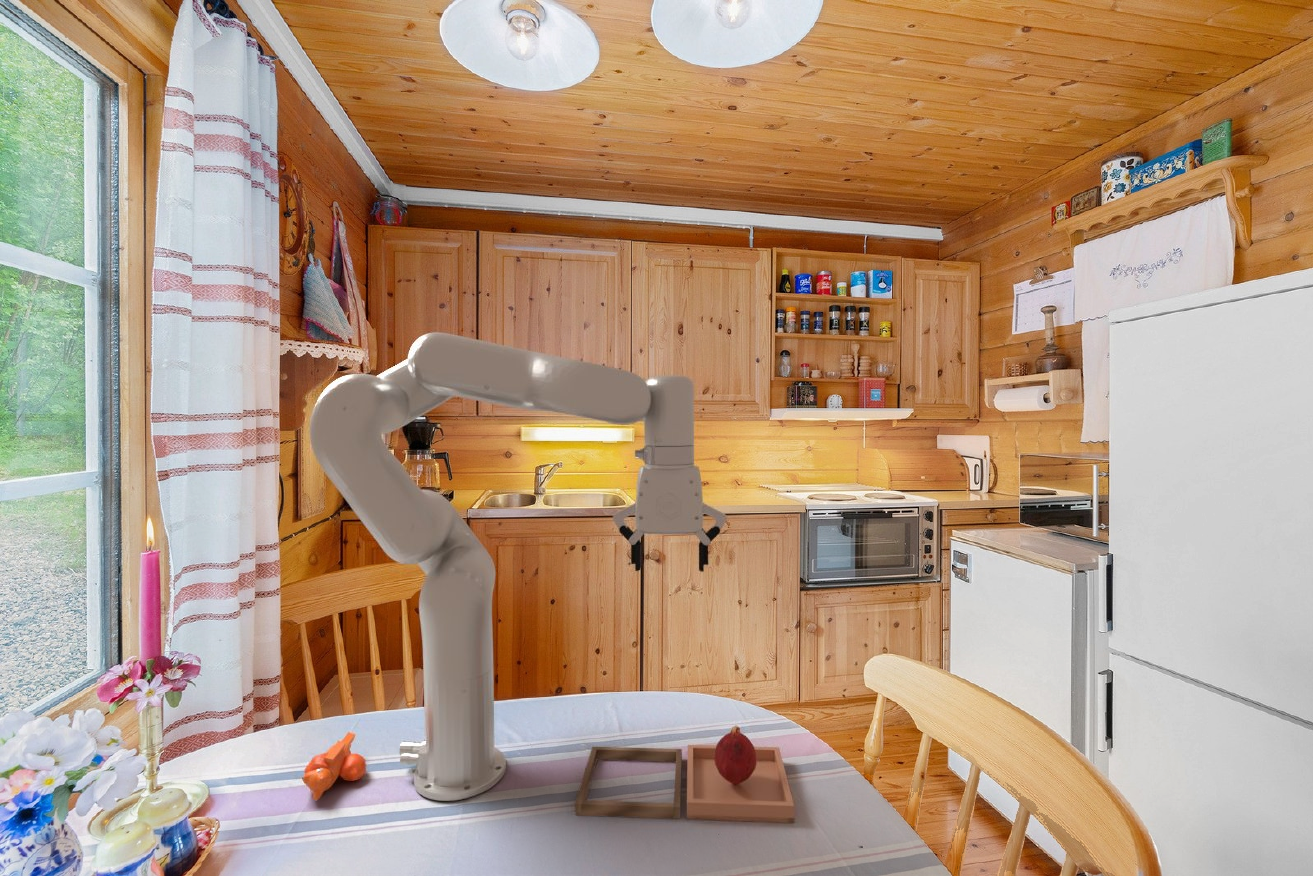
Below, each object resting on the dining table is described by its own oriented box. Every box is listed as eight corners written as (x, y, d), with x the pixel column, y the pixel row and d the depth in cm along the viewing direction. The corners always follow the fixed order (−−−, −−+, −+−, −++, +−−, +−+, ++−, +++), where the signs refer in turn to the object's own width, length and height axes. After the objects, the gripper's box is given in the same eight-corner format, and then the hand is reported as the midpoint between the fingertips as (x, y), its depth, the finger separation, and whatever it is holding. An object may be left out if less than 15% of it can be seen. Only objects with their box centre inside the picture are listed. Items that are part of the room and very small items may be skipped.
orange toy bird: (336, 721, 92) (298, 766, 80) (385, 733, 93) (354, 781, 81) (326, 752, 92) (286, 802, 80) (375, 765, 93) (342, 816, 81)
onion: (756, 799, 81) (756, 740, 80) (713, 795, 82) (713, 737, 81) (756, 773, 86) (756, 718, 86) (716, 770, 87) (715, 715, 87)
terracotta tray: (686, 819, 78) (686, 802, 78) (687, 759, 91) (687, 744, 91) (794, 823, 77) (794, 806, 77) (779, 761, 90) (779, 747, 90)
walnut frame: (575, 815, 79) (574, 803, 78) (592, 756, 92) (592, 746, 92) (679, 818, 78) (679, 807, 78) (681, 758, 91) (681, 749, 91)
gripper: (609, 459, 89) (610, 575, 89) (727, 459, 88) (728, 576, 88) (615, 455, 96) (616, 562, 97) (725, 455, 95) (725, 563, 96)
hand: (669, 569), depth 93 cm, fingers open, 9 cm apart
